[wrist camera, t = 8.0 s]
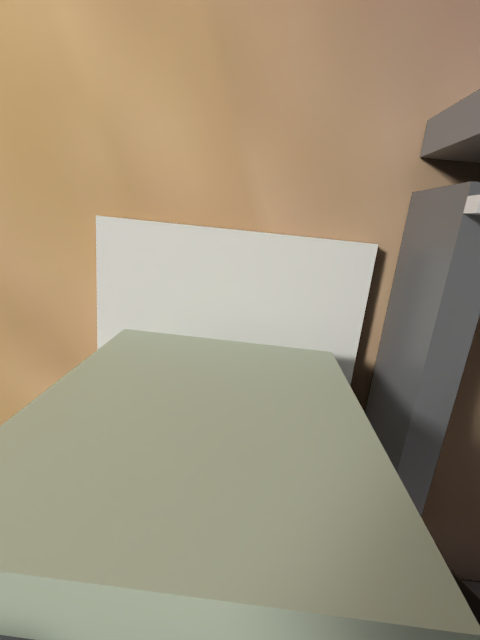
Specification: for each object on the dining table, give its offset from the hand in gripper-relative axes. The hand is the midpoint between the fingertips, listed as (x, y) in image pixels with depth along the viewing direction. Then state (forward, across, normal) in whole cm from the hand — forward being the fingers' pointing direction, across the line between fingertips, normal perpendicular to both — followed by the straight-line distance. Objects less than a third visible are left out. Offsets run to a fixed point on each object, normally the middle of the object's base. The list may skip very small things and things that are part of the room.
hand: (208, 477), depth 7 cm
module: (+2, 0, 0) cm, 2 cm away
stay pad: (+3, 0, 0) cm, 3 cm away
